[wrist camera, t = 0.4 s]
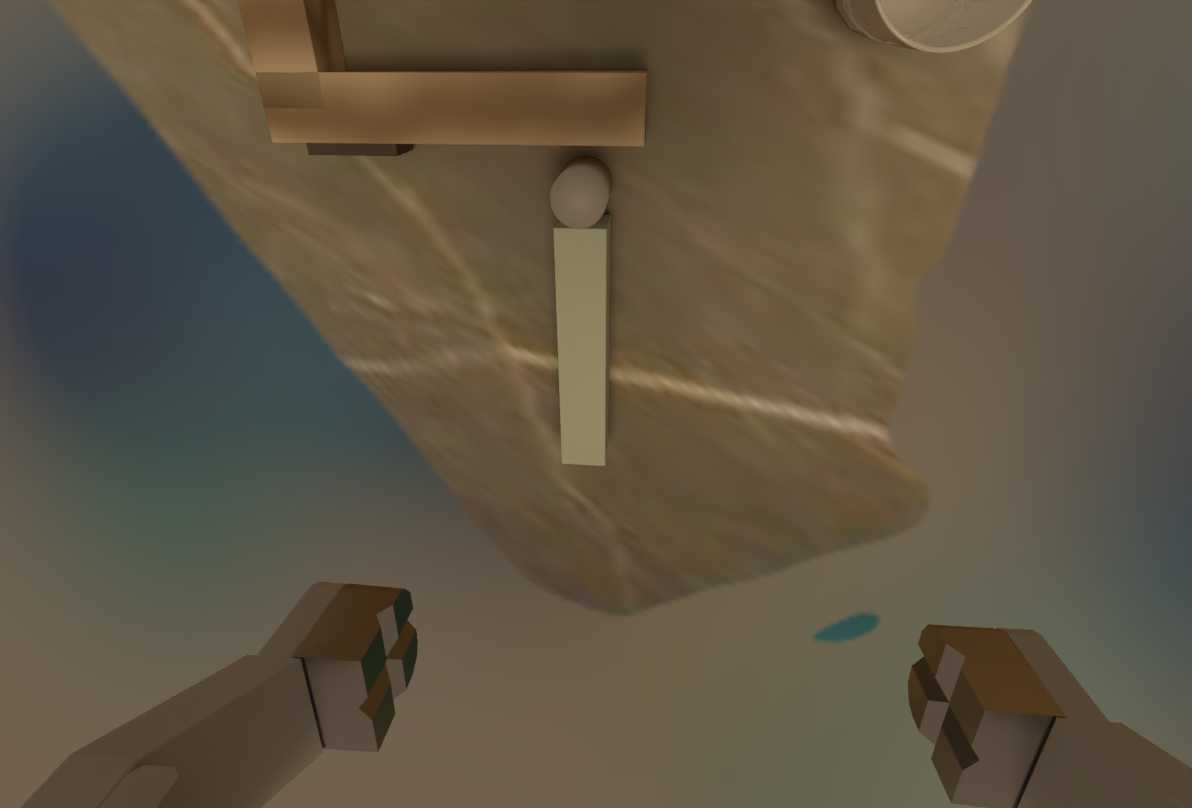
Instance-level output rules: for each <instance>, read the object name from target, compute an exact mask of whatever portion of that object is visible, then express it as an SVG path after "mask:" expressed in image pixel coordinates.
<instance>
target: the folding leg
mask: <svg viewBox="0 0 1192 808" xmlns="http://www.w3.org/2000/svg"><path fill="white" fill-rule="evenodd" d="M611 190H612V179H611V175H610V173H609V171H608V169H607V168H606V166H605V165H604V164H603V163H602V162H600V161H599V160H597V159H595V158H591V157H580V158H577V159H575V160H573V161H572V162H570V163H569V164H568V165H567V166H566V168H565V169H564V170H563V171H562V173H561V174H560V175H559V177H558V178H557V179H556V180H555V182H554V184H553V186H552V188H551V191H550V205H551V208H552V211H553V213H554V215H555V216H556V217H557V219H558V221H557V223H556V225H555V226H554V228H553V229H554V256H555V284H556V311H557V338H558V365H559V393H560V420H561V447H562V464H580V465H600V466H605V462H606V454H607V447H608V439H609V346H610V244H611V215H603V213H604V211H605V208H606V205H607V202H608V199H609V196H610V193H611Z"/></svg>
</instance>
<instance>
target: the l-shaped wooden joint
mask: <svg viewBox="0 0 1192 808" xmlns="http://www.w3.org/2000/svg"><path fill="white" fill-rule="evenodd" d="M238 4H239V9H240V13H241V17H242V21H243V25H244V29H245V33H246V37H247V41H248V45H249V49H250V53H251V57H252V61H253V65H254V69H255V73H256V77H257V81H258V85H259V89H260V93H261V97H262V102H263V106H264V110H265V114H266V118H267V122H268V126H269V130H270V134H271V138H272V142H279V143H306V144H307V148H308V153H309V155H367V156H398V155H401V154H403V153H405V152H408V151H410V150H413V144H469V145H564V146H644V144H645V136H646V107H647V79H648V70H346V64H345V59H344V53H343V48H342V42H341V37H340V31H339V26H338V20H337V15H336V9H335V4H334V0H238Z"/></svg>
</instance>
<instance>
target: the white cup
mask: <svg viewBox="0 0 1192 808" xmlns="http://www.w3.org/2000/svg"><path fill="white" fill-rule="evenodd" d="M835 1H836V8H837V10H838V11H839V13H840V14H841V16H842V17H843V19H844V21H845V22H846V24H847V25H848V27H849V28H850V29H851V30H853V31H855V32H857V33H859V34H861V35H863V36H865V37H867V38H870V39H872V40H875V41H878V42H881V43H885V44H889V45H892V46H896V47H902V48H909V49H915V50H921V51H926V52H934V53H947V52H955V51H959V50H963V49H967V48H970V47H973V46H975V45H978V44H980V43H982V42H984V41H986V40H988V39H989V38H991V37H993V36H994V35H996V34H997V33H999V32H1000V31H1002V30H1003V29H1004V28H1006V27H1007V26H1008V25H1009V24H1011V23H1012V22H1013V21H1014V20H1015V19H1016V18H1017V17H1018V16H1019V15H1020V14H1021V13H1022V12H1023V11H1024V10H1025V9H1026V8H1027V7H1028V5H1029V4H1030V3H1031V2H1032V0H835Z"/></svg>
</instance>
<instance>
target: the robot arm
mask: <svg viewBox="0 0 1192 808" xmlns="http://www.w3.org/2000/svg"><path fill="white" fill-rule="evenodd" d="M412 610H413V604H412V599H411V593H410V592H409V591H408V590H406V589H403V588H391V587H381V586H370V585H360V584H349V583H348V584H341V583H331V582H321V581H320V582H317V583H315V584H313V585H312V586H310V587H309V589H308V590H307V591H306V592H305V594H304V595H303V596H302V598H301V599H300V600H299V602H298V603H297V604H296V605H295V607H294V608H293V609H292V611H291V612H290V613H289V614H288V616H287V617H286V619H285V620H284V621H283V622H282V624H281V625H280V626H279V627H278V629H277V630H276V631H275V633H274V634H273V635H272V637H271V638H270V639H269V640H268V642H267V643H266V644H265V646H264V647H263V648H262V649H261V651H260V652H259V653H258V655H246V656H244V657H243V658H241V659H239V660H237V661H236V662H234V663H232V664H230V665H228V666H227V667H225V668H223V669H221V670H220V671H218V672H216V673H214V674H213V675H211V676H209V677H207V678H205V679H204V680H202V681H200V682H198V683H196V684H195V685H193V686H191V687H189V688H188V689H186V690H184V691H182V692H181V693H179V694H177V695H175V696H173V697H172V698H170V699H168V700H166V701H164V702H163V703H161V704H159V705H158V706H156V707H154V708H152V709H150V710H148V711H147V712H145V713H143V714H142V715H139V716H138V717H136V718H134V719H132V720H131V721H129V722H127V723H125V724H123V725H122V726H120V727H118V728H117V729H115V730H113V731H111V732H109V733H108V734H106V735H104V736H102V737H100V738H99V739H97V740H95V741H93V742H91V743H90V744H88V745H86V746H84V747H83V748H81V749H79V750H77V751H76V752H74V753H72V754H71V755H70V756H69V757H68V758H67V759H66V760H65V761H64V762H63V763H62V764H61V765H60V766H59V767H58V768H57V769H56V770H55V771H54V772H53V773H52V775H51V776H50V777H49V778H48V779H47V780H46V781H45V782H44V783H43V784H42V785H41V786H40V787H39V788H38V789H37V791H35V792H34V794H33V795H32V796H31V797H30V798H29V799H28V800H27V801H26V802H25V803H24V804H23V805H22V806H21V807H20V808H261V807H262V806H263V805H264V804H266V803H267V802H268V801H269V800H270V799H271V798H272V797H273V796H275V795H276V794H277V793H278V792H279V791H280V790H281V789H282V788H284V786H286V785H287V784H288V783H289V782H290V781H291V780H293V779H294V778H295V777H296V776H297V775H298V774H299V773H300V772H302V771H303V770H304V769H305V768H306V767H307V766H308V765H309V764H310V763H312V762H313V761H314V760H315V759H316V758H317V757H318V756H320V755H321V754H322V753H323V749H336V750H354V751H370V752H378V751H379V749H380V747H381V744H382V742H383V740H384V738H385V736H386V734H387V731H388V729H389V727H390V725H391V723H392V720H393V718H394V716H395V708H394V701H393V699H394V698H396V697H397V696H399V695H400V694H401V693H403V692H404V691H405V690H406V689H407V687H408V684H409V682H410V680H411V677H412V675H413V671H414V667H415V662H416V658H417V646H418V645H417V644H418V640H417V632H416V629H415V628H414V627H413V626H412V624H410V622H409V621H408V618H409V616H410V613H411V612H412ZM918 644H919V647H920V649H921V650H922V652H923V654H924V657H923V658H921V659H920V660H919V661H917V662H916V663H915V664H914V665H912V667H911V671H910V676H909V680H908V696H909V697H908V698H909V704H910V708H911V712H912V716H913V718H914V721H915V723H916V725H917V728H918V730H919V732H920V733H922V734H923V735H924V736H925V737H926V738H927V739H929V740H930V741H931V742H932V743H933V744H934V745H935V749H934V752H933V755H932V758H931V760H932V762H933V764H934V766H935V768H936V770H937V773H938V775H939V777H940V780H941V782H942V784H943V786H944V788H945V791H946V793H947V795H948V797H949V800H950V802H951V803H953V804H962V805H970V806H980V807H988V808H1192V768H1190V767H1189V766H1187V765H1186V764H1184V763H1183V762H1181V761H1180V760H1178V759H1176V758H1175V757H1173V756H1172V755H1170V754H1169V753H1167V752H1166V751H1164V750H1162V749H1161V748H1159V747H1158V746H1156V745H1155V744H1153V743H1152V742H1150V741H1149V740H1147V739H1145V738H1144V737H1142V736H1141V735H1139V734H1138V733H1136V732H1135V731H1133V730H1131V729H1130V728H1128V727H1127V726H1125V725H1124V724H1122V723H1116V722H1109V721H1108V719H1107V718H1106V717H1105V716H1104V714H1103V713H1102V712H1101V711H1100V709H1099V708H1098V707H1097V705H1096V704H1095V703H1094V702H1093V700H1092V699H1091V698H1090V696H1089V695H1088V694H1087V693H1086V691H1085V690H1084V689H1083V688H1082V686H1081V685H1080V684H1079V682H1078V681H1077V680H1076V679H1075V677H1074V676H1073V675H1072V673H1071V672H1070V671H1069V670H1068V668H1067V667H1066V666H1065V665H1064V663H1063V662H1062V661H1061V659H1060V658H1059V657H1058V655H1057V654H1056V653H1055V652H1054V650H1053V649H1052V648H1051V646H1050V645H1049V644H1048V643H1047V641H1046V640H1045V639H1044V638H1043V636H1041V635H1040V634H1039V633H1037V632H1035V631H1034V630H1027V629H1007V628H997V629H993V628H980V627H963V626H947V625H931V624H928V625H927V626H926V627H925V628H924V630H923V631H922V633H921V636H920V639H919V643H918Z"/></svg>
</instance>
